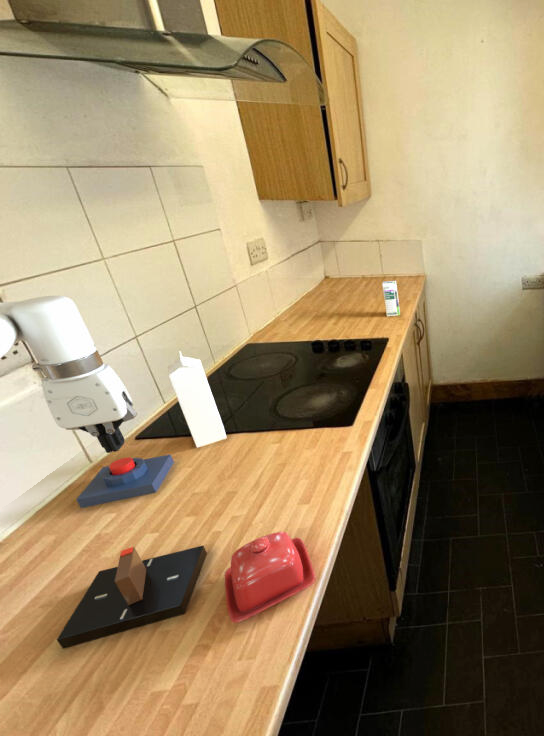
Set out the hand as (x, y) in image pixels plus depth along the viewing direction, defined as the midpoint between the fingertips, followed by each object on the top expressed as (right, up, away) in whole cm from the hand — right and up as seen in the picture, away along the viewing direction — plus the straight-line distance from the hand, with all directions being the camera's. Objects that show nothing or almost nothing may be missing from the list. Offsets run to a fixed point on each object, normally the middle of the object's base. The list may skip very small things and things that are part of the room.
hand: (116, 447), depth 82 cm
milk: (+6, -2, +18) cm, 19 cm away
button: (0, -5, +2) cm, 5 cm away
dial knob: (+23, -16, -20) cm, 34 cm away
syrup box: (+26, +36, +101) cm, 110 cm away
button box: (0, -8, +3) cm, 9 cm away
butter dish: (+41, -17, -17) cm, 48 cm away
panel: (+23, -18, -19) cm, 35 cm away
